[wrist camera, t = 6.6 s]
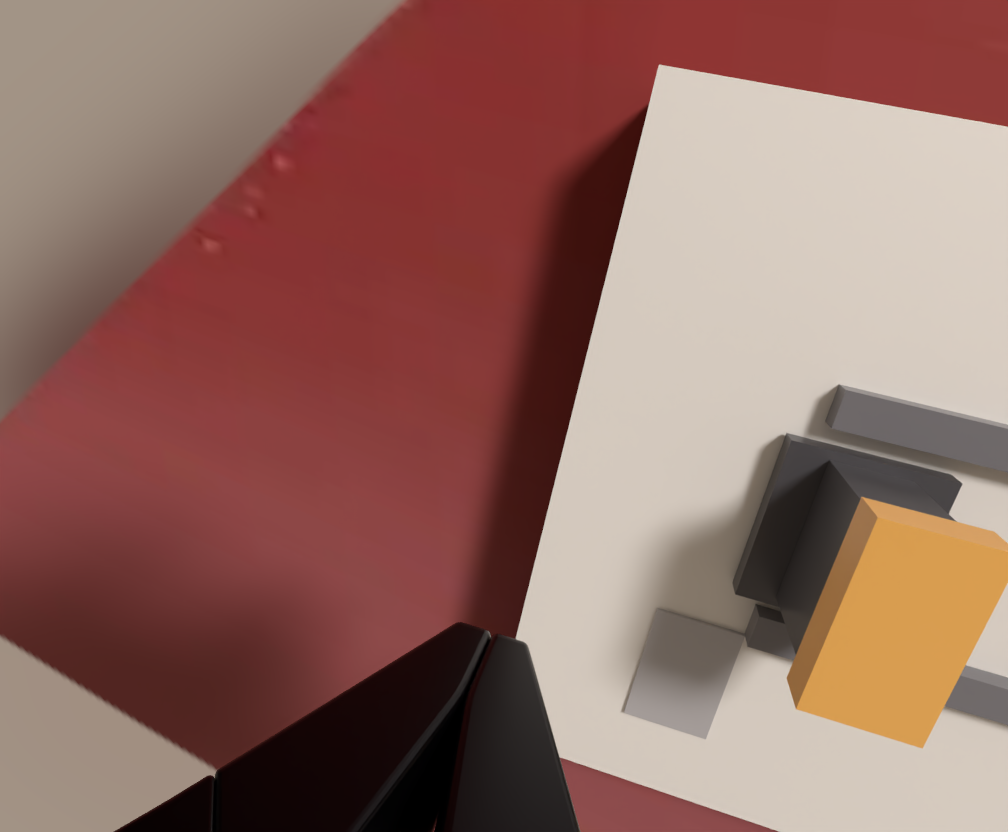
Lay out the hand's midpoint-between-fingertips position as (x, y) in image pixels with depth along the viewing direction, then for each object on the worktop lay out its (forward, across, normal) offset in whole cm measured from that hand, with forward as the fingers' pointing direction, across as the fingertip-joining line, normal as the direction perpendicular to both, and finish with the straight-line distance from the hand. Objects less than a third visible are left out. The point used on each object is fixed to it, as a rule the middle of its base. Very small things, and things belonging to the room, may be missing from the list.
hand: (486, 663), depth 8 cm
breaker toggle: (+7, -6, 0) cm, 9 cm away
